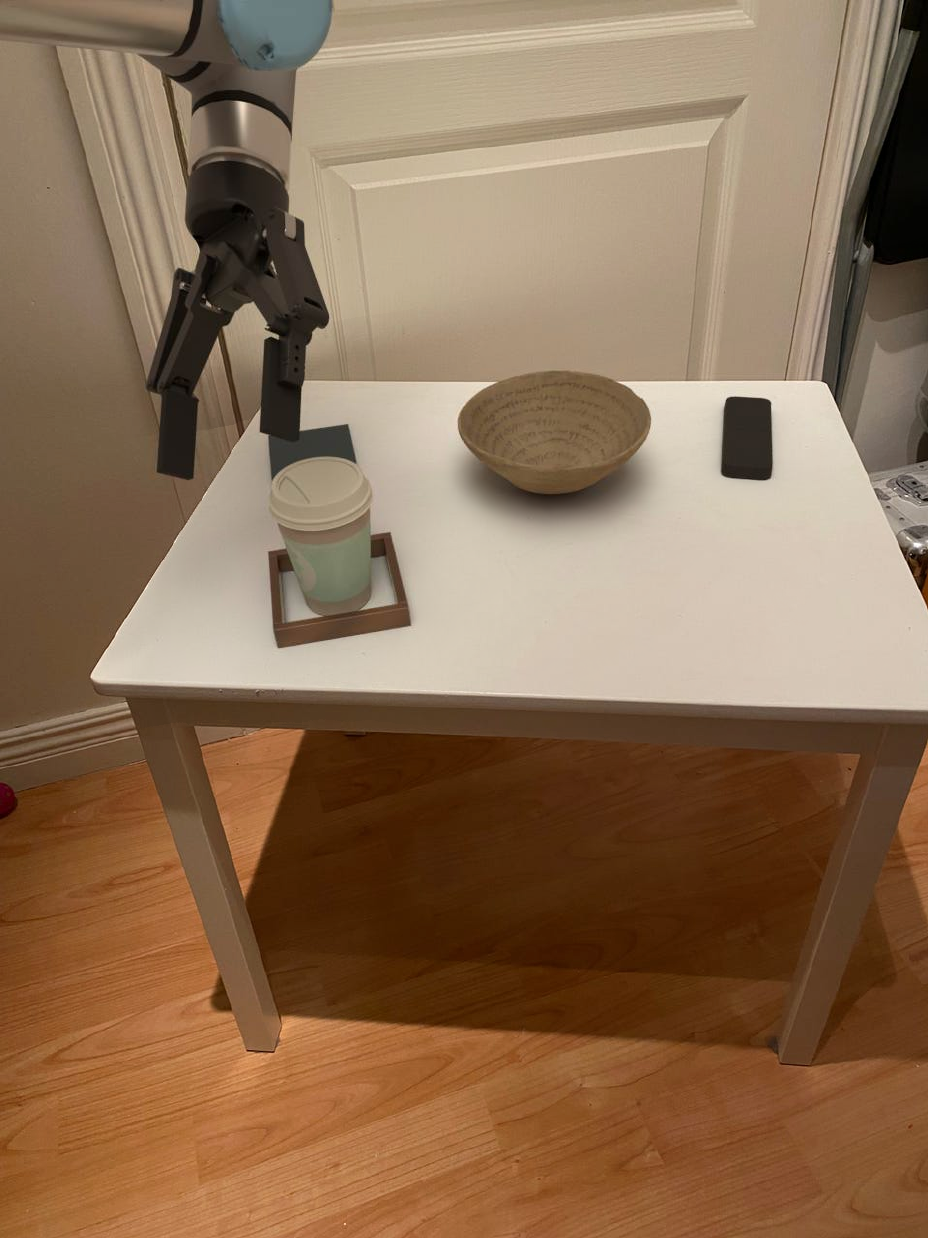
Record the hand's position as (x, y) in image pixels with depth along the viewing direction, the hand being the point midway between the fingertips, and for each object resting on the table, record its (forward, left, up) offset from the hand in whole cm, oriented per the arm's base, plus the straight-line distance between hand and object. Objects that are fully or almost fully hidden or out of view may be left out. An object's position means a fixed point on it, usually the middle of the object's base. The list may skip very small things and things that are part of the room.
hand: (223, 457), depth 67 cm
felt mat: (+6, +30, -18) cm, 35 cm away
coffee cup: (+6, +4, -18) cm, 19 cm away
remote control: (+51, +19, -18) cm, 57 cm away
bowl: (+29, +17, -18) cm, 38 cm away
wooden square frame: (+6, +4, -18) cm, 19 cm away
